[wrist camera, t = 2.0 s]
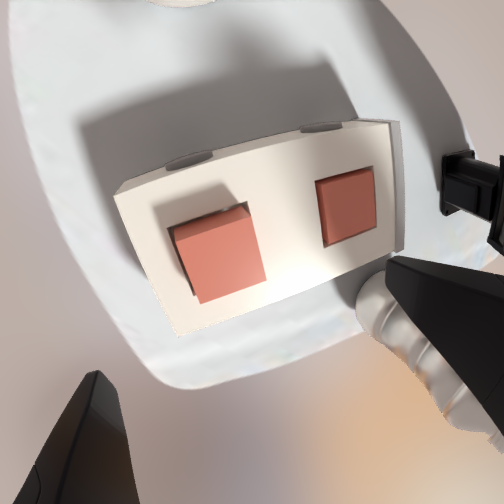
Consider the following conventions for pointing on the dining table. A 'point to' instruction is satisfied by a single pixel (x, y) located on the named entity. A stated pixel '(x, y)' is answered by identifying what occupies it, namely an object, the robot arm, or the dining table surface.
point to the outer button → (220, 254)
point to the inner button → (345, 204)
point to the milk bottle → (180, 3)
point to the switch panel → (265, 212)
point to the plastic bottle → (421, 359)
